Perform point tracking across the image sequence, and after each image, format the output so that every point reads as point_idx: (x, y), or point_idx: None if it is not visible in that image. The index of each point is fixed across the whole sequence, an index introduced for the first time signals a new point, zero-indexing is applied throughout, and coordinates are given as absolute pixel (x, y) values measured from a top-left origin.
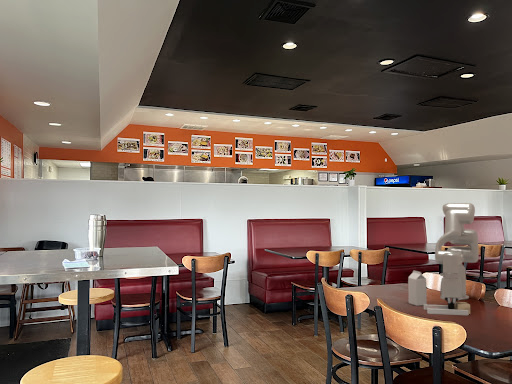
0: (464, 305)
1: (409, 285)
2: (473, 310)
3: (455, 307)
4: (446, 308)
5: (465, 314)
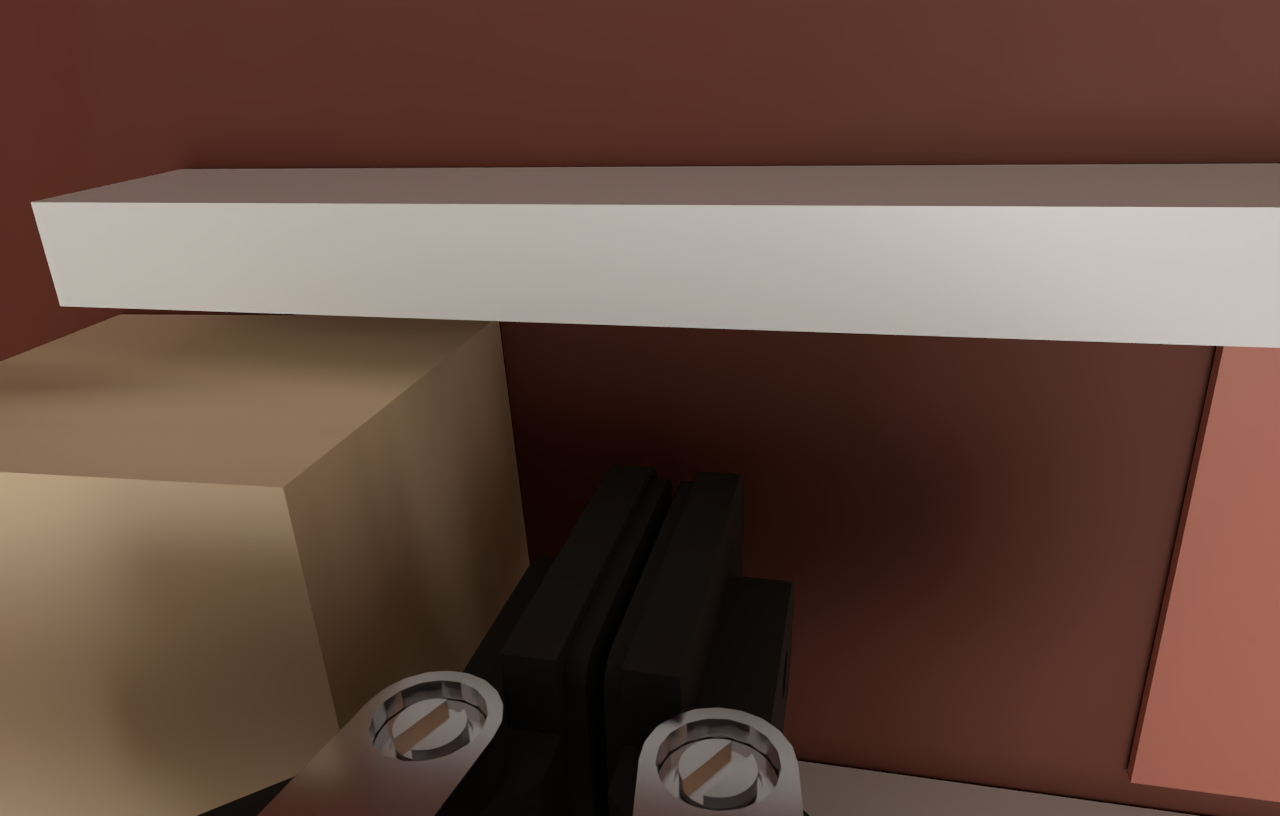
0: (15, 453)
1: None
2: None
3: None
4: None
5: (251, 171)
